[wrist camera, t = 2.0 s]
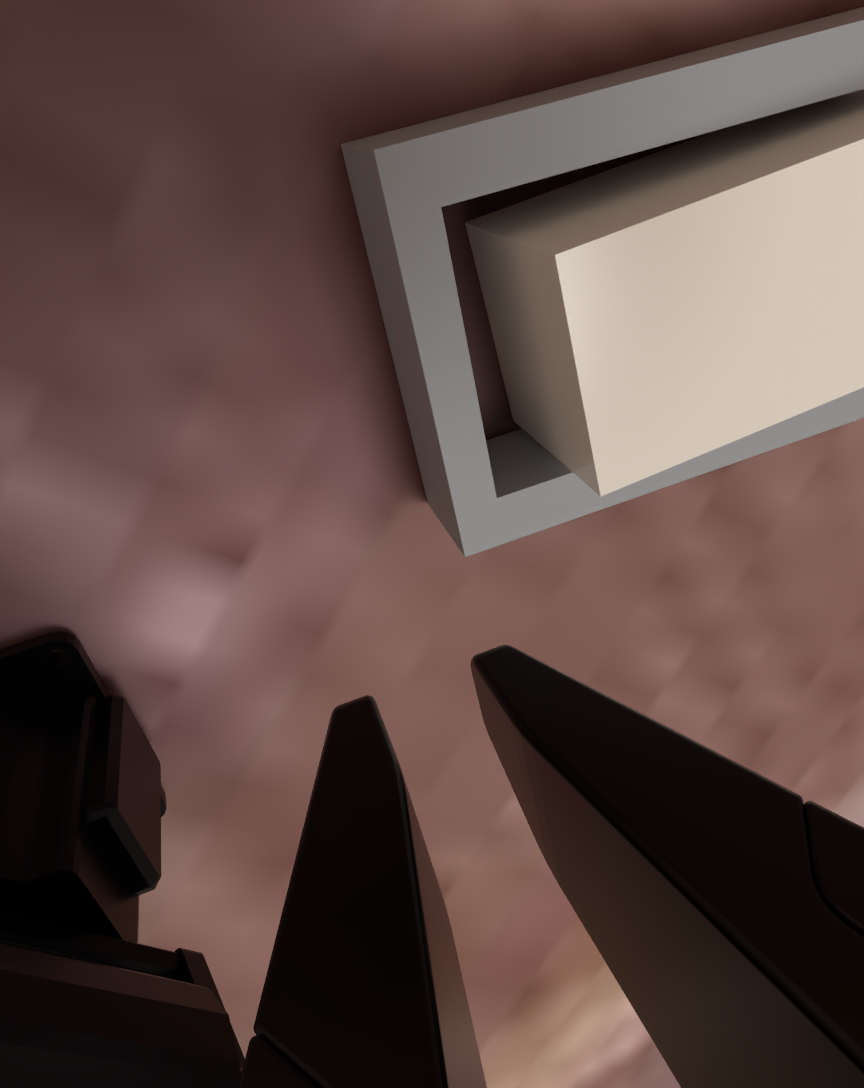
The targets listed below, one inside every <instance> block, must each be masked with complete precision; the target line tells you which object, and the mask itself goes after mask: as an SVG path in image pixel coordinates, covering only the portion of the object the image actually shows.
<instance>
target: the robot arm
mask: <svg viewBox="0 0 864 1088" xmlns="http://www.w3.org/2000/svg"><path fill="white" fill-rule="evenodd" d="M56 649H60V650H64V651H65V652H66V653H67V654H68V655H66V656H65V657H59V658H58V657H54V656H52V655H51V654H50V653H49V652H50V651H52V650H56ZM471 670H472V675H473V679H474V683H475V687H476V691H477V696H478V700H479V704H480V708H481V712H482V716H483V720H484V723H485V726H486V729H487V732H488V734H489V737H490V739H491V741H492V743H493V746H494V748H495V750H496V752H497V754H498V757H499V759H500V761H501V763H502V766H503V768H504V770H505V772H506V775H507V777H508V779H509V781H510V783H511V786H512V788H513V790H514V792H515V795H516V797H517V799H518V801H519V804H520V806H521V808H522V810H523V812H524V815H525V817H526V819H527V821H528V824H529V826H530V828H531V830H532V833H533V835H534V837H535V839H536V841H537V844H538V846H539V848H540V850H541V852H542V854H543V856H544V858H545V860H546V862H547V864H548V866H549V868H550V869H551V871H552V873H553V875H554V877H555V878H556V880H557V882H558V884H559V885H560V887H561V889H562V890H563V892H564V894H565V895H566V897H567V899H568V900H569V902H570V904H571V905H572V907H573V909H574V910H575V912H576V914H577V915H578V917H579V919H580V920H581V922H582V924H583V925H584V927H585V929H586V930H587V932H588V934H589V935H590V937H591V939H592V940H593V942H594V944H595V945H596V947H597V949H598V950H599V952H600V954H601V955H602V957H603V959H604V960H605V962H606V964H607V965H608V967H609V969H610V970H611V972H612V974H613V975H614V977H615V978H616V980H617V982H618V983H619V985H620V987H621V988H622V990H623V992H624V993H625V995H626V997H627V998H628V1000H629V1002H630V1003H631V1005H632V1007H633V1008H634V1010H635V1012H636V1013H637V1015H638V1017H639V1018H640V1020H641V1022H642V1023H643V1025H644V1027H645V1028H646V1030H647V1032H648V1033H649V1035H650V1037H651V1038H652V1040H653V1042H654V1043H655V1045H656V1047H657V1048H658V1050H659V1052H660V1053H661V1055H662V1057H663V1058H664V1060H665V1062H666V1063H667V1065H668V1067H669V1068H670V1070H671V1071H672V1073H673V1075H674V1076H675V1078H676V1080H677V1081H678V1083H679V1085H680V1086H681V1088H864V828H863V827H861V826H859V825H857V824H855V823H853V822H851V821H849V820H847V819H845V818H843V817H841V816H839V815H838V814H836V813H834V812H832V811H830V810H828V809H826V808H824V807H822V806H820V805H818V804H816V803H814V802H812V801H807V802H806V803H805V804H804V803H803V799H802V797H801V796H800V795H798V794H796V793H794V792H792V791H790V790H788V789H786V788H785V787H783V786H781V785H779V784H777V783H775V782H773V781H771V780H769V779H767V778H765V777H763V776H761V775H759V774H757V773H756V772H754V771H752V770H750V769H748V768H746V767H744V766H742V765H740V764H738V763H736V762H734V761H732V760H730V759H728V758H727V757H725V756H723V755H721V754H719V753H717V752H715V751H713V750H711V749H709V748H707V747H705V746H703V745H701V744H699V743H698V742H696V741H694V740H692V739H690V738H688V737H686V736H684V735H682V734H680V733H678V732H676V731H674V730H672V729H670V728H669V727H667V726H665V725H663V724H661V723H659V722H657V721H655V720H653V719H651V718H649V717H647V716H645V715H643V714H641V713H640V712H638V711H636V710H634V709H632V708H630V707H628V706H626V705H624V704H622V703H620V702H618V701H616V700H614V699H612V698H611V697H609V696H607V695H605V694H603V693H601V692H599V691H597V690H595V689H593V688H591V687H589V686H587V685H585V684H583V683H582V682H580V681H578V680H576V679H574V678H572V677H570V676H568V675H566V674H564V673H562V672H560V671H558V670H556V669H554V668H553V667H551V666H549V665H547V664H545V663H543V662H541V661H539V660H537V659H535V658H533V657H531V656H529V655H527V654H525V653H524V652H522V651H520V650H518V649H516V648H514V647H512V646H508V645H502V646H499V647H496V648H494V649H491V650H488V651H485V652H483V653H480V654H477V655H475V656H474V657H473V658H472V660H471ZM165 811H166V796H165V792H164V790H163V789H162V787H161V775H160V762H159V760H158V758H157V756H156V754H155V752H154V751H153V749H152V747H151V745H150V743H149V741H148V740H147V738H146V736H145V734H144V732H143V731H142V729H141V727H140V725H139V723H138V721H137V720H136V718H135V716H134V714H133V712H132V711H131V709H130V707H129V705H128V703H127V702H126V700H125V698H123V697H121V696H118V695H116V694H114V693H113V694H109V693H108V691H107V689H106V687H105V686H104V684H103V682H102V680H101V678H100V677H99V675H98V673H97V671H96V670H95V668H94V666H93V664H92V662H91V661H90V659H89V657H88V655H87V654H86V652H85V650H84V648H83V646H82V645H81V643H80V641H79V640H78V639H77V638H76V637H75V636H73V635H71V634H69V633H67V632H59V631H58V632H52V633H48V634H45V635H42V636H39V637H36V638H33V639H31V640H28V641H25V642H22V643H19V644H16V645H13V646H10V647H7V648H4V649H1V650H0V1088H487V1086H486V1082H485V1077H484V1073H483V1068H482V1064H481V1059H480V1055H479V1050H478V1046H477V1041H476V1037H475V1032H474V1028H473V1023H472V1019H471V1014H470V1010H469V1005H468V1001H467V996H466V992H465V988H464V983H463V979H462V974H461V970H460V965H459V961H458V956H457V952H456V947H455V943H454V938H453V934H452V929H451V925H450V921H449V918H448V914H447V910H446V906H445V903H444V899H443V896H442V893H441V890H440V887H439V884H438V881H437V878H436V875H435V872H434V869H433V866H432V862H431V859H430V856H429V853H428V850H427V847H426V844H425V841H424V838H423V835H422V832H421V829H420V826H419V823H418V820H417V817H416V814H415V810H414V807H413V804H412V801H411V798H410V795H409V792H408V789H407V786H406V783H405V780H404V777H403V774H402V771H401V768H400V765H399V762H398V759H397V757H396V754H395V751H394V749H393V746H392V743H391V741H390V738H389V736H388V733H387V730H386V728H385V725H384V722H383V720H382V717H381V715H380V712H379V709H378V707H377V704H376V702H375V700H374V698H373V697H372V696H369V695H367V696H363V697H360V698H358V699H355V700H352V701H350V702H347V703H344V704H341V705H339V706H337V707H336V708H335V709H334V710H333V712H332V715H331V718H330V722H329V726H328V730H327V734H326V738H325V742H324V746H323V750H322V755H321V759H320V763H319V767H318V771H317V775H316V779H315V783H314V787H313V791H312V795H311V799H310V803H309V807H308V811H307V815H306V819H305V823H304V827H303V831H302V835H301V839H300V843H299V847H298V851H297V855H296V859H295V863H294V867H293V871H292V875H291V879H290V883H289V887H288V891H287V895H286V899H285V903H284V907H283V911H282V915H281V919H280V923H279V927H278V931H277V935H276V939H275V943H274V947H273V951H272V955H271V959H270V964H269V968H268V972H267V976H266V980H265V984H264V988H263V992H262V996H261V1000H260V1004H259V1008H258V1012H257V1016H256V1020H255V1024H254V1032H255V1033H256V1035H257V1036H254V1037H252V1038H251V1040H250V1042H249V1046H248V1050H247V1054H246V1058H244V1056H243V1053H242V1051H241V1048H240V1046H239V1043H238V1041H237V1038H236V1036H235V1033H234V1031H233V1028H232V1026H231V1023H230V1019H229V1015H228V1013H227V1012H226V1011H225V1008H224V1006H223V1003H222V1001H221V998H220V996H219V993H218V991H217V988H216V986H215V983H214V981H213V978H212V976H211V973H210V971H209V968H208V966H207V963H206V961H205V958H204V956H203V954H202V953H199V952H195V951H191V950H186V949H182V948H178V949H177V950H176V951H175V952H172V951H168V950H164V949H160V948H155V947H151V946H147V945H143V944H139V943H138V921H139V895H141V894H143V893H146V892H149V891H151V890H154V889H155V888H156V886H157V884H158V882H159V880H160V878H161V817H162V816H163V815H164V814H165Z"/></svg>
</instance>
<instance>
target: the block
mask: <svg viewBox="0 0 864 1088" xmlns="http://www.w3.org/2000/svg"><path fill="white" fill-rule="evenodd" d="M465 224H466V229H467V233H468V237H469V241H470V245H471V249H472V253H473V257H474V261H475V265H476V270H477V274H478V278H479V282H480V286H481V290H482V294H483V298H484V302H485V306H486V310H487V315H488V319H489V323H490V327H491V331H492V335H493V339H494V343H495V347H496V351H497V356H498V360H499V364H500V368H501V372H502V376H503V380H504V384H505V388H506V392H507V397H508V401H509V405H510V409H511V413H512V417H513V421H514V422H515V423H517V424H518V425H519V426H520V427H521V428H522V429H523V430H525V431H526V432H527V433H528V434H529V435H530V436H531V437H533V438H534V439H535V440H536V441H537V442H538V443H540V444H541V445H542V446H543V447H544V448H545V449H546V450H548V451H549V452H550V453H551V454H552V455H553V456H554V457H556V458H557V459H558V460H559V461H560V462H561V463H563V464H564V465H565V466H566V467H567V468H568V469H569V470H571V471H572V472H573V473H574V474H575V475H576V476H578V477H579V478H580V479H581V480H582V481H583V482H584V483H586V484H587V485H588V486H589V487H590V488H591V489H592V490H594V491H595V492H596V493H597V494H598V495H599V496H604V495H606V494H608V493H611V492H613V491H616V490H618V489H620V488H623V487H625V486H628V485H630V484H632V483H635V482H637V481H640V480H642V479H644V478H647V477H649V476H652V475H654V474H656V473H659V472H661V471H664V470H666V469H669V468H671V467H673V466H676V465H678V464H681V463H683V462H685V461H688V460H690V459H693V458H695V457H697V456H700V455H702V454H705V453H707V452H709V451H712V450H714V449H717V448H719V447H721V446H724V445H726V444H729V443H731V442H733V441H736V440H738V439H741V438H743V437H745V436H748V435H750V434H753V433H755V432H758V431H760V430H762V429H765V428H767V427H770V426H772V425H774V424H777V423H779V422H782V421H784V420H786V419H789V418H791V417H794V416H796V415H798V414H801V413H803V412H806V411H808V410H810V409H813V408H815V407H818V406H820V405H822V404H825V403H827V402H830V401H832V400H834V399H837V398H839V397H842V396H844V395H846V394H849V393H851V392H854V391H856V390H859V389H861V388H863V387H864V89H862V90H858V91H855V92H851V93H847V94H844V95H840V96H837V97H833V98H830V99H826V100H822V101H819V102H815V103H812V104H808V105H805V106H801V107H797V108H794V109H790V110H787V111H783V112H780V113H776V114H772V115H769V116H765V117H762V118H758V119H755V120H751V121H747V122H744V123H740V124H737V125H733V126H730V127H726V128H722V129H719V130H716V131H714V132H711V133H708V134H705V135H703V136H700V137H697V138H695V139H692V140H689V141H686V142H684V143H681V144H678V145H675V146H673V147H670V148H667V149H665V150H662V151H659V152H656V153H654V154H651V155H648V156H645V157H643V158H640V159H637V160H634V161H632V162H629V163H626V164H624V165H621V166H618V167H615V168H613V169H610V170H607V171H604V172H602V173H599V174H596V175H594V176H591V177H588V178H585V179H583V180H580V181H577V182H574V183H572V184H569V185H566V186H564V187H561V188H558V189H555V190H553V191H550V192H547V193H544V194H542V195H539V196H536V197H534V198H531V199H528V200H525V201H523V202H520V203H517V204H514V205H512V206H509V207H506V208H504V209H501V210H498V211H495V212H493V213H490V214H487V215H484V216H482V217H479V218H476V219H473V220H471V221H468V222H465Z"/></svg>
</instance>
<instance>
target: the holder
mask: <svg viewBox="0 0 864 1088" xmlns="http://www.w3.org/2000/svg"><path fill="white" fill-rule="evenodd" d="M862 89H864V7H861V8H857V9H853V10H849V11H846V12H842V13H838V14H834V15H830V16H827V17H823V18H819V19H815V20H811V21H808V22H804V23H800V24H796V25H792V26H788V27H785V28H781V29H777V30H773V31H769V32H766V33H762V34H758V35H754V36H750V37H747V38H743V39H739V40H735V41H731V42H728V43H724V44H720V45H716V46H712V47H708V48H705V49H701V50H697V51H693V52H689V53H686V54H682V55H678V56H674V57H670V58H667V59H663V60H659V61H655V62H651V63H648V64H644V65H640V66H636V67H632V68H628V69H625V70H621V71H617V72H613V73H609V74H606V75H602V76H598V77H594V78H590V79H587V80H583V81H579V82H575V83H571V84H568V85H564V86H560V87H556V88H552V89H548V90H545V91H541V92H537V93H533V94H529V95H526V96H522V97H518V98H514V99H510V100H507V101H503V102H499V103H495V104H491V105H488V106H484V107H480V108H476V109H472V110H468V111H465V112H461V113H457V114H453V115H449V116H446V117H442V118H438V119H434V120H430V121H427V122H423V123H419V124H415V125H411V126H408V127H404V128H400V129H396V130H392V131H388V132H385V133H381V134H377V135H373V136H369V137H366V138H362V139H358V140H354V141H350V142H347V143H343V144H341V148H342V152H343V156H344V161H345V165H346V169H347V173H348V177H349V181H350V185H351V189H352V193H353V198H354V202H355V206H356V210H357V214H358V218H359V222H360V226H361V230H362V235H363V239H364V243H365V247H366V251H367V255H368V259H369V263H370V267H371V272H372V276H373V280H374V284H375V288H376V292H377V296H378V300H379V304H380V309H381V313H382V317H383V321H384V325H385V329H386V333H387V337H388V341H389V346H390V350H391V354H392V358H393V362H394V366H395V370H396V374H397V378H398V383H399V387H400V391H401V395H402V399H403V403H404V407H405V411H406V415H407V420H408V424H409V428H410V432H411V436H412V440H413V444H414V448H415V452H416V457H417V461H418V465H419V469H420V473H421V477H422V481H423V485H424V489H425V494H426V498H427V502H428V504H429V506H430V507H431V509H432V510H433V511H434V513H435V514H436V516H437V517H438V519H439V520H440V522H441V523H442V524H443V526H444V527H445V529H446V530H447V532H448V533H449V535H450V536H451V537H452V539H453V540H454V542H455V543H456V545H457V546H458V548H459V549H460V550H461V552H462V553H463V555H464V556H465V557H467V556H470V555H473V554H475V553H478V552H481V551H484V550H487V549H490V548H493V547H495V546H498V545H501V544H504V543H507V542H510V541H513V540H515V539H518V538H521V537H524V536H527V535H530V534H533V533H535V532H538V531H541V530H544V529H547V528H550V527H553V526H555V525H558V524H561V523H564V522H567V521H570V520H573V519H575V518H578V517H581V516H584V515H587V514H590V513H593V512H595V511H598V510H601V509H604V508H607V507H610V506H613V505H615V504H618V503H621V502H624V501H627V500H630V499H633V498H635V497H638V496H641V495H644V494H647V493H650V492H653V491H655V490H658V489H661V488H664V487H667V486H670V485H673V484H675V483H678V482H681V481H684V480H687V479H690V478H693V477H695V476H698V475H701V474H704V473H707V472H710V471H713V470H715V469H718V468H721V467H724V466H727V465H730V464H733V463H735V462H738V461H741V460H744V459H747V458H750V457H753V456H755V455H758V454H761V453H764V452H767V451H770V450H773V449H775V448H778V447H781V446H784V445H787V444H790V443H793V442H795V441H798V440H801V439H804V438H807V437H810V436H813V435H815V434H818V433H821V432H824V431H827V430H830V429H833V428H835V427H838V426H841V425H844V424H847V423H850V422H853V421H855V420H858V419H861V418H864V387H863V388H861V389H859V390H856V391H854V392H851V393H849V394H846V395H844V396H842V397H839V398H837V399H834V400H832V401H830V402H827V403H825V404H822V405H820V406H818V407H815V408H813V409H810V410H808V411H806V412H803V413H801V414H798V415H796V416H794V417H791V418H789V419H786V420H784V421H782V422H779V423H777V424H774V425H772V426H770V427H767V428H765V429H762V430H760V431H758V432H755V433H753V434H750V435H748V436H745V437H743V438H741V439H738V440H736V441H733V442H731V443H729V444H726V445H724V446H721V447H719V448H717V449H714V450H712V451H709V452H707V453H705V454H702V455H700V456H697V457H695V458H693V459H690V460H688V461H685V462H683V463H681V464H678V465H676V466H673V467H671V468H669V469H666V470H664V471H661V472H659V473H656V474H654V475H652V476H649V477H647V478H644V479H642V480H640V481H637V482H635V483H632V484H630V485H628V486H625V487H623V488H620V489H618V490H616V491H613V492H611V493H608V494H606V495H604V496H599V495H598V494H597V493H596V492H595V491H594V490H592V489H591V488H590V487H589V486H588V485H587V484H586V483H584V482H583V481H582V480H581V479H580V478H579V477H578V476H576V475H575V474H574V473H573V472H572V471H571V470H569V469H568V468H567V467H566V466H565V465H564V464H563V463H561V462H560V461H559V460H558V459H557V458H556V457H554V456H553V455H552V454H551V453H550V452H549V451H548V450H546V449H545V448H544V447H543V446H542V445H541V444H540V443H538V442H537V441H536V440H535V439H534V438H533V437H531V436H530V435H529V434H528V433H527V432H526V431H525V430H523V429H519V430H516V431H513V432H510V433H507V434H504V435H501V436H498V437H495V438H491V439H488V440H486V439H485V434H484V428H483V423H482V418H481V413H480V408H479V402H478V397H477V392H476V387H475V381H474V376H473V371H472V366H471V360H470V355H469V350H468V345H467V339H466V334H465V329H464V324H463V318H462V313H461V308H460V303H459V297H458V292H457V287H456V282H455V276H454V271H453V266H452V261H451V256H450V250H449V245H448V240H447V235H446V229H445V224H444V219H443V214H442V208H441V207H444V206H447V205H451V204H454V203H458V202H462V201H465V200H469V199H472V198H476V197H479V196H483V195H487V194H490V193H494V192H497V191H501V190H504V189H508V188H512V187H515V186H519V185H522V184H526V183H529V182H533V181H537V180H540V179H544V178H547V177H551V176H554V175H558V174H562V173H565V172H569V171H572V170H576V169H579V168H583V167H587V166H590V165H594V164H597V163H601V162H604V161H608V160H612V159H615V158H619V157H622V156H626V155H629V154H633V153H637V152H640V151H644V150H647V149H651V148H654V147H658V146H662V145H665V144H669V143H672V142H676V141H680V140H683V139H687V138H690V137H694V136H697V135H701V134H705V133H708V132H712V131H715V130H719V129H722V128H726V127H730V126H733V125H737V124H740V123H744V122H747V121H751V120H755V119H758V118H762V117H765V116H769V115H772V114H776V113H780V112H783V111H787V110H790V109H794V108H797V107H801V106H805V105H808V104H812V103H815V102H819V101H822V100H826V99H830V98H833V97H837V96H840V95H844V94H847V93H851V92H855V91H858V90H862Z"/></svg>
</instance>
